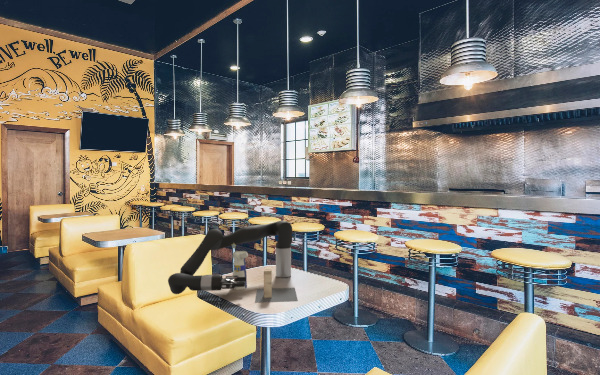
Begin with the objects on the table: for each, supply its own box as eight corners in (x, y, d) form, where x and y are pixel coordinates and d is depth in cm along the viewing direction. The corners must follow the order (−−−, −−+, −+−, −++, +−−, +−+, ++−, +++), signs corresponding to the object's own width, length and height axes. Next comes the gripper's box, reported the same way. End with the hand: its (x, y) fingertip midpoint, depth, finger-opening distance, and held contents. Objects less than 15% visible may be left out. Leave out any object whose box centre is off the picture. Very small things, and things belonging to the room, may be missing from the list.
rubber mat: (256, 289, 174) (256, 288, 174) (294, 288, 176) (294, 287, 176) (254, 303, 153) (254, 302, 153) (297, 302, 155) (297, 301, 155)
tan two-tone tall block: (264, 293, 166) (264, 267, 166) (271, 293, 166) (271, 267, 166) (263, 297, 160) (263, 270, 160) (271, 297, 160) (271, 270, 160)
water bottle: (244, 291, 172) (244, 243, 172) (229, 290, 174) (229, 242, 174) (250, 286, 180) (250, 240, 180) (235, 285, 182) (235, 240, 182)
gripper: (208, 278, 154) (244, 277, 155) (214, 271, 168) (246, 270, 169) (209, 295, 154) (244, 293, 155) (214, 285, 168) (246, 284, 169)
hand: (245, 281), depth 162 cm, fingers open, 8 cm apart
